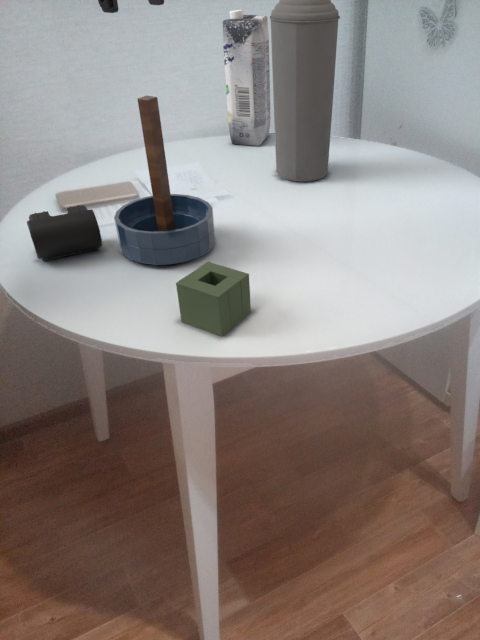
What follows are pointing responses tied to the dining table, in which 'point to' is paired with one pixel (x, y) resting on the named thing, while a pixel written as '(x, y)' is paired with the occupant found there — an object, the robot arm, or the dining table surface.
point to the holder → (214, 298)
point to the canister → (303, 85)
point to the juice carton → (247, 77)
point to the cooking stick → (156, 162)
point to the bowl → (165, 246)
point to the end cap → (64, 233)
